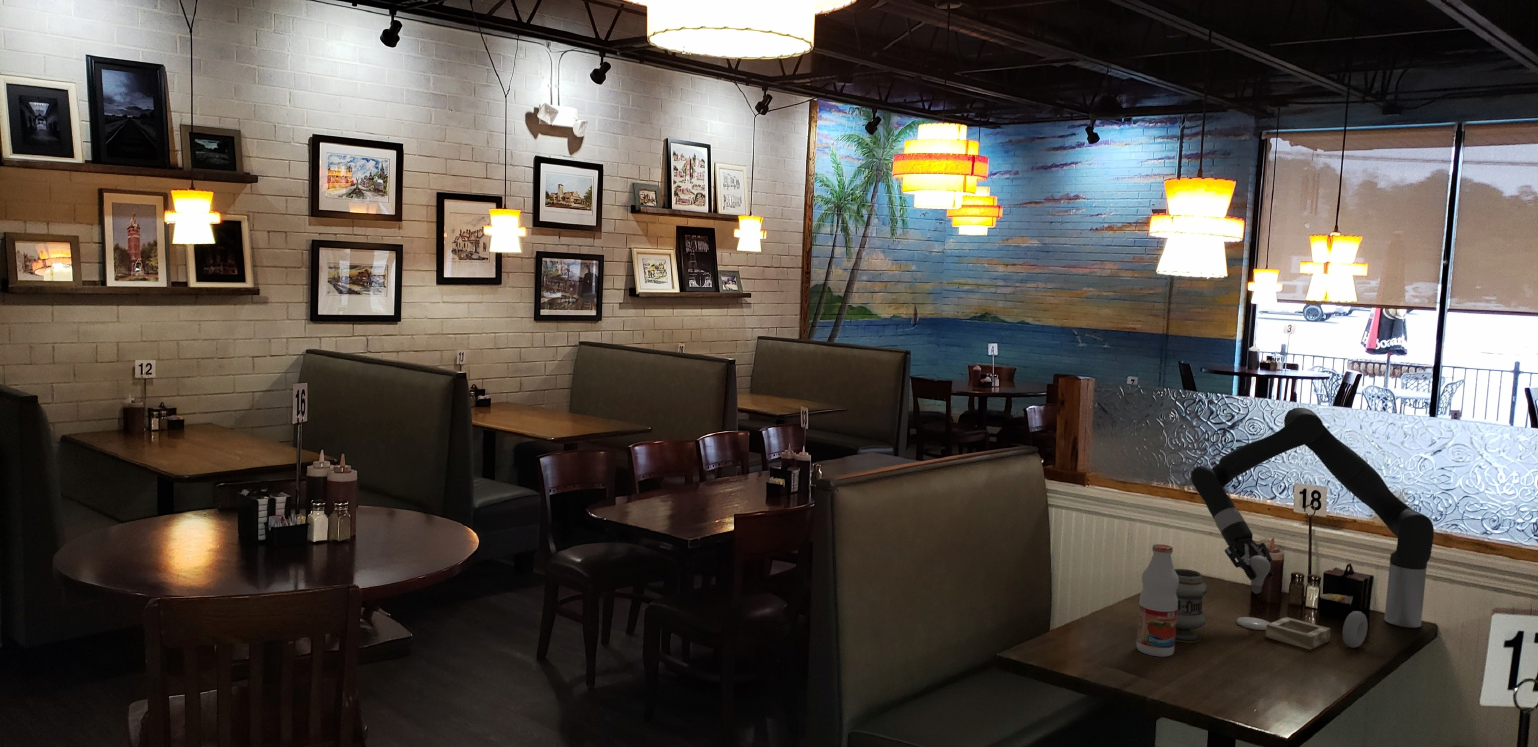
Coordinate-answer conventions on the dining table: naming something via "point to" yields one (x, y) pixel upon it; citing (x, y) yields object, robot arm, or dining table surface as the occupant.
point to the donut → (1355, 629)
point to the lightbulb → (1259, 572)
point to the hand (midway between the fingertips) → (1262, 577)
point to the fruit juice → (1158, 605)
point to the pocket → (1298, 633)
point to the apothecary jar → (1189, 605)
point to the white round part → (1252, 623)
